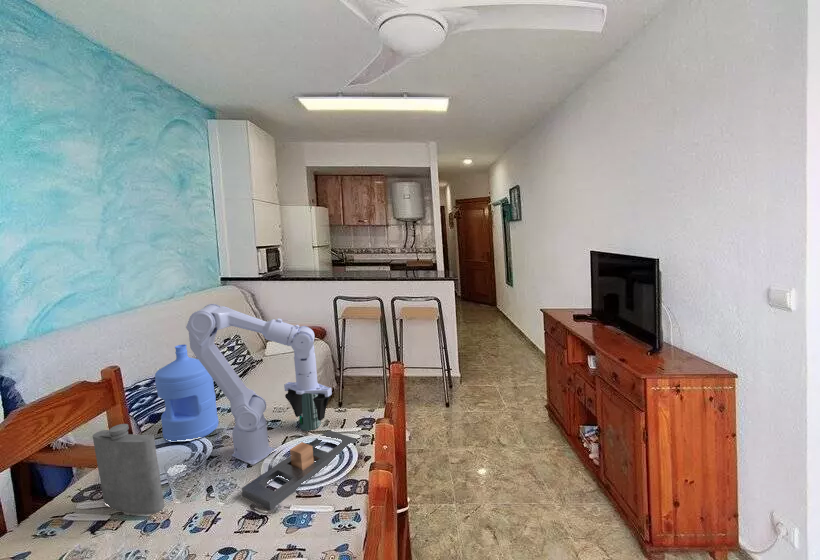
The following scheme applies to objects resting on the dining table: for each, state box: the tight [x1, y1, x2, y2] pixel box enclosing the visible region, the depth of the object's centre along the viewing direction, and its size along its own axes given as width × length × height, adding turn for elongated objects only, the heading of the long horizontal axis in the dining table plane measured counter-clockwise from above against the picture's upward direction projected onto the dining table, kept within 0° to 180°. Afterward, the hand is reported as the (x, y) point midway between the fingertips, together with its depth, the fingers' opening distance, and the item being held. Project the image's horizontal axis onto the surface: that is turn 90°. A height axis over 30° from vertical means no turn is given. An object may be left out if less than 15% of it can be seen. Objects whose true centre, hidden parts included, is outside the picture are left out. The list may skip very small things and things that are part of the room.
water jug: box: [154, 344, 220, 441], centre depth 127 cm, size 16×16×28 cm
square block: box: [289, 441, 314, 470], centre depth 106 cm, size 4×4×6 cm
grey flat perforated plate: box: [241, 429, 356, 511], centre depth 107 cm, size 10×30×2 cm, turn 148°
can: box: [298, 393, 322, 432], centre depth 128 cm, size 6×6×15 cm
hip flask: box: [92, 423, 165, 515], centre depth 94 cm, size 16×4×20 cm, turn 76°
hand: (310, 417), depth 115 cm, fingers open, 7 cm apart
